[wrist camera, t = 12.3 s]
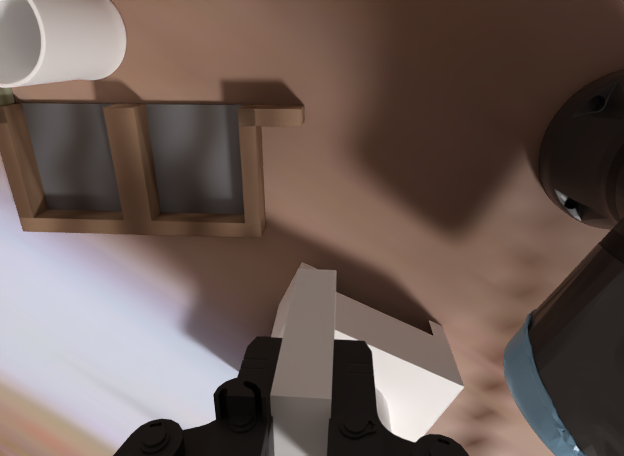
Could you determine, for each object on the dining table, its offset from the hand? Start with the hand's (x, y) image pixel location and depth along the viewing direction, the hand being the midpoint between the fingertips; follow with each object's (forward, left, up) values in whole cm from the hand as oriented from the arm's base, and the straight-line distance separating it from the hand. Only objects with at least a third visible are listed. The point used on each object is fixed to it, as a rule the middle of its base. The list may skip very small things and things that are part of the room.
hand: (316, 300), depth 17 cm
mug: (+24, -12, -29) cm, 40 cm away
